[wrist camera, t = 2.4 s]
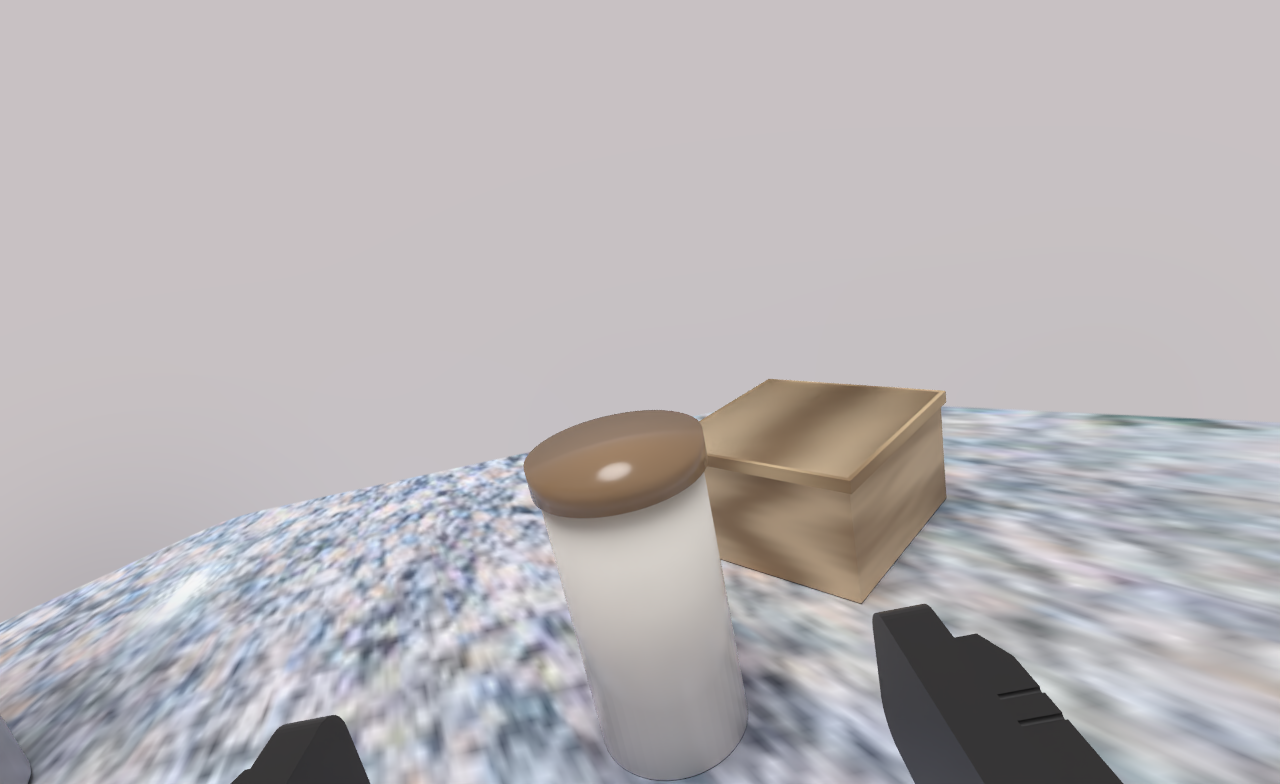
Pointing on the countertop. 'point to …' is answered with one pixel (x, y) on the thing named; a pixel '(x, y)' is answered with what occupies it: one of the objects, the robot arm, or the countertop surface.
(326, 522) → the countertop surface
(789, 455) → the oak box
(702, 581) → the cream jar
